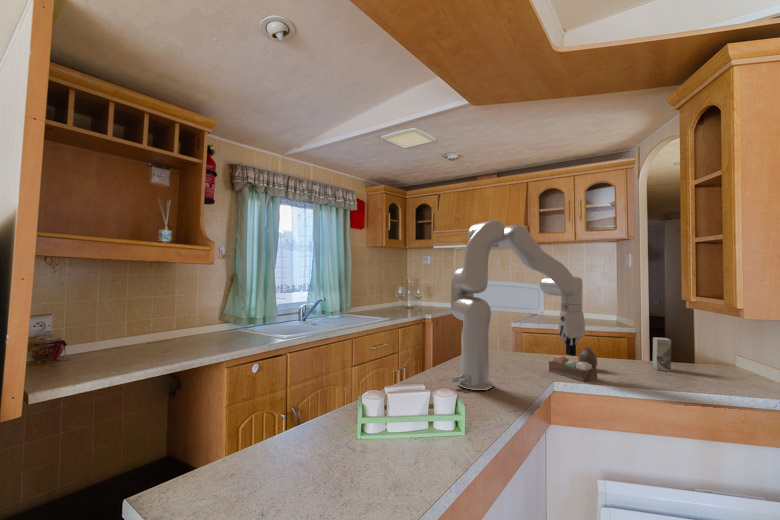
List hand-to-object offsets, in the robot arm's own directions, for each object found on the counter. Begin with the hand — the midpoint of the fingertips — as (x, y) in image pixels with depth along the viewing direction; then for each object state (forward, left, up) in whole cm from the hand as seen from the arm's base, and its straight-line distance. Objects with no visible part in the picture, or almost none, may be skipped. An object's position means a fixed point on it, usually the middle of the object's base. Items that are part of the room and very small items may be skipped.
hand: (570, 354), depth 140 cm
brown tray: (+1, 0, -8) cm, 8 cm away
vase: (+14, +2, -8) cm, 16 cm away
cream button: (+1, -5, -5) cm, 7 cm away
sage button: (+1, 0, -6) cm, 6 cm away
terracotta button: (+1, +5, -5) cm, 7 cm away
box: (+41, -12, -8) cm, 43 cm away
